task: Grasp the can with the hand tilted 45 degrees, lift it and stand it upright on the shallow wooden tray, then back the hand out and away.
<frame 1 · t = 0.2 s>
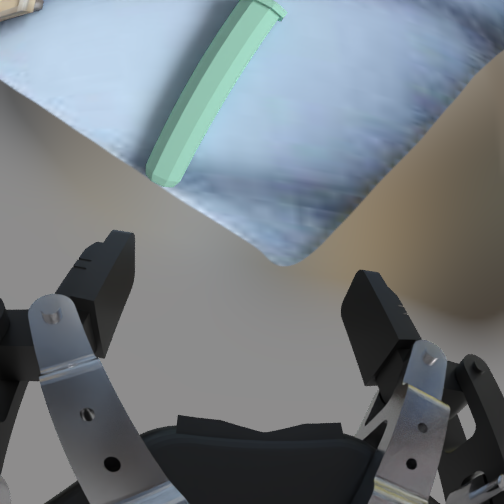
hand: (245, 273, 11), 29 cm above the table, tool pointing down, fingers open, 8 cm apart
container: (208, 90, 33), on the table
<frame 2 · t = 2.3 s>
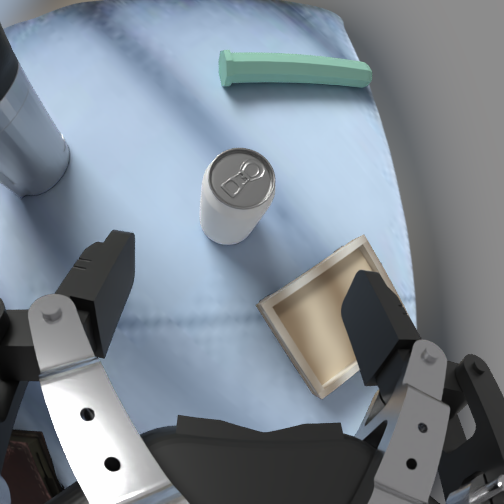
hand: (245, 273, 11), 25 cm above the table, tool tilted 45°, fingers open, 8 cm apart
diary: (29, 497, 24), on the table
can: (226, 219, 37), on the table
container: (297, 79, 44), on the table
shallow wooden tray: (324, 315, 36), on the table
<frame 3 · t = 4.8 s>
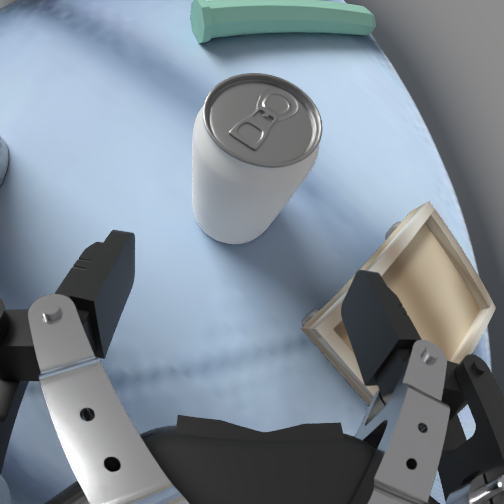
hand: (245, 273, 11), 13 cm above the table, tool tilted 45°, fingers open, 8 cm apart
can: (232, 207, 25), on the table
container: (290, 31, 32), on the table
shallow wooden tray: (388, 321, 25), on the table
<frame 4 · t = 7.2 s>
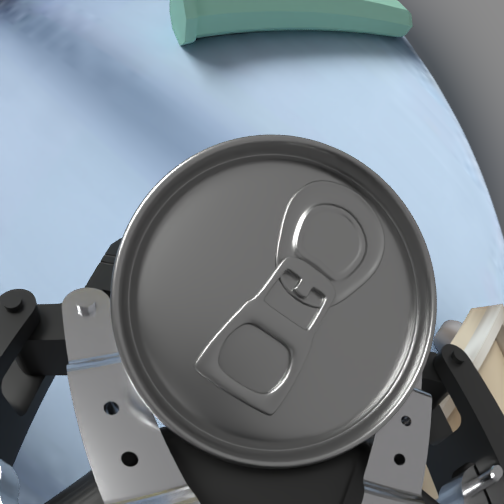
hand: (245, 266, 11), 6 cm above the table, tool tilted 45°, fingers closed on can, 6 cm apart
can: (225, 315, 16), on the table, touching gripper
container: (306, 28, 23), on the table
shallow wooden tray: (422, 438, 16), on the table
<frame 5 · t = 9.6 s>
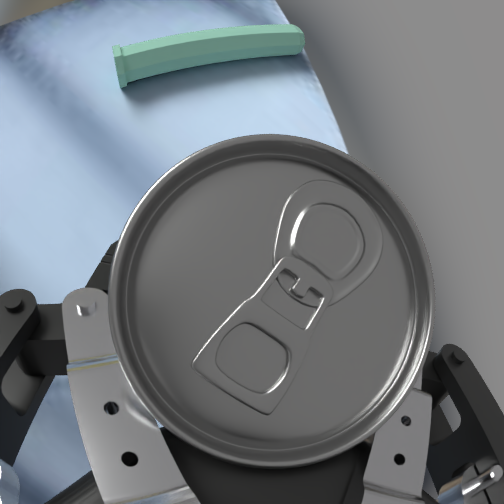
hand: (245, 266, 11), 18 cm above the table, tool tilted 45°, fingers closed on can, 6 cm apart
can: (225, 315, 16), point 12 cm above the table, touching gripper
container: (213, 60, 35), on the table
when the fingers open (12 cm above the table, at t = 12.1 s): can drops 1 cm, resting on shallow wooden tray.
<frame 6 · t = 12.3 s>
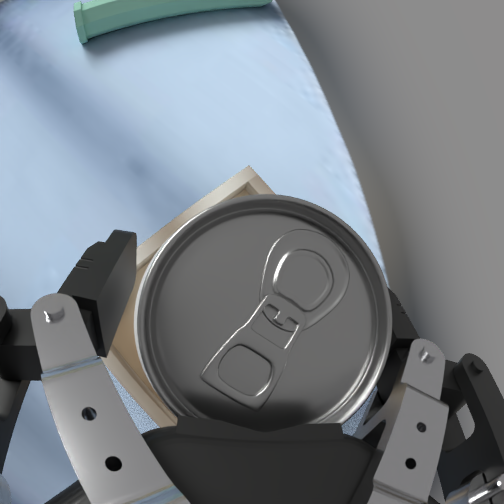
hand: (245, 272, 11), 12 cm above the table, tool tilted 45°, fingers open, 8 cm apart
can: (225, 321, 18), point 4 cm above the table, touching shallow wooden tray
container: (178, 14, 29), on the table
shallow wooden tray: (217, 317, 22), on the table
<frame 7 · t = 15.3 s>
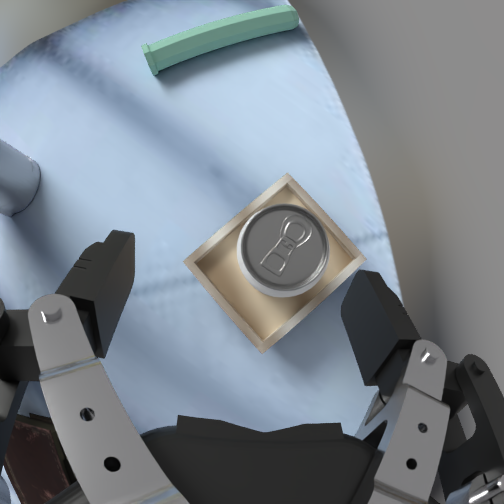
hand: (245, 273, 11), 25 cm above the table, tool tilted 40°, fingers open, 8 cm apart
diary: (50, 473, 33), on the table
can: (277, 264, 32), point 4 cm above the table, touching shallow wooden tray
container: (226, 44, 41), on the table
shallow wooden tray: (274, 265, 36), on the table
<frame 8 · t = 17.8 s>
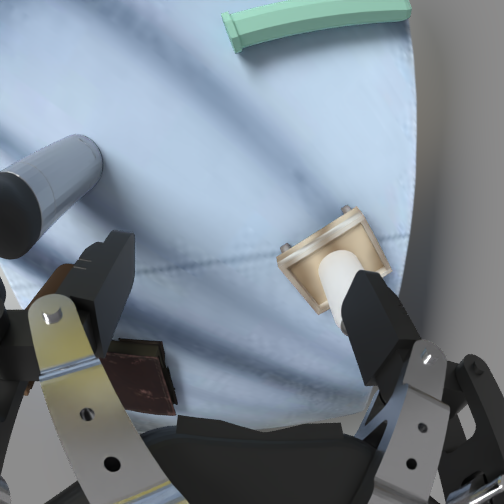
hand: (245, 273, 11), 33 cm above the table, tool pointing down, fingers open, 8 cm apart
diary: (136, 371, 66), on the table
can: (337, 265, 46), point 4 cm above the table, touching shallow wooden tray
olive oil: (75, 283, 52), on the table
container: (319, 16, 31), on the table
shallow wooden tray: (330, 249, 49), on the table
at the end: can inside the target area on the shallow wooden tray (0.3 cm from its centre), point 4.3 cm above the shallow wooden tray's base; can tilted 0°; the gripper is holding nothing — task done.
